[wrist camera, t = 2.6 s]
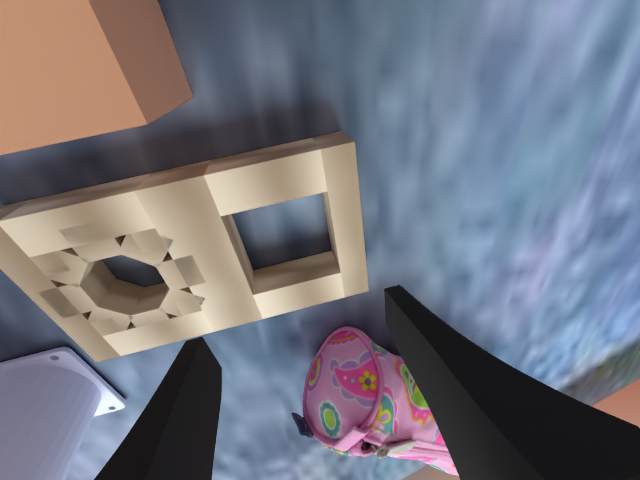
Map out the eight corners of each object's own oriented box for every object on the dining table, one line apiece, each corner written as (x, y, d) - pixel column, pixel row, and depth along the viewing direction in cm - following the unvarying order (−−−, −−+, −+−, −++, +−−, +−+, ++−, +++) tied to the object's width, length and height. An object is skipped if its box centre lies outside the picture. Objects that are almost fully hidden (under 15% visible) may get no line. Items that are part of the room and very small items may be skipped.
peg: (109, 115, 13) (-4, 155, 8) (51, 7, 11) (-172, -51, 5) (193, 97, 14) (147, 124, 8) (153, -11, 11) (47, -86, 6)
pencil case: (284, 364, 26) (296, 488, 18) (352, 300, 23) (399, 414, 16) (418, 411, 36) (461, 503, 28) (477, 370, 33) (542, 460, 26)
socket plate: (113, 331, 20) (96, 362, 18) (2, 205, 15) (-40, 229, 12) (357, 268, 21) (368, 291, 19) (341, 131, 16) (354, 141, 14)
